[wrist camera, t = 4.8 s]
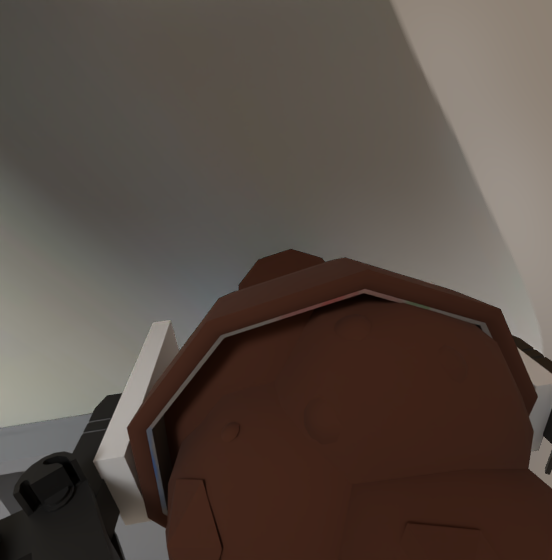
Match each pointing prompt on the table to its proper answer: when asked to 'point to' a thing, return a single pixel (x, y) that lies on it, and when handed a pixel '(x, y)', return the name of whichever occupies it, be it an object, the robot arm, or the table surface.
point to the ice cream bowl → (343, 424)
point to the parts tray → (64, 437)
